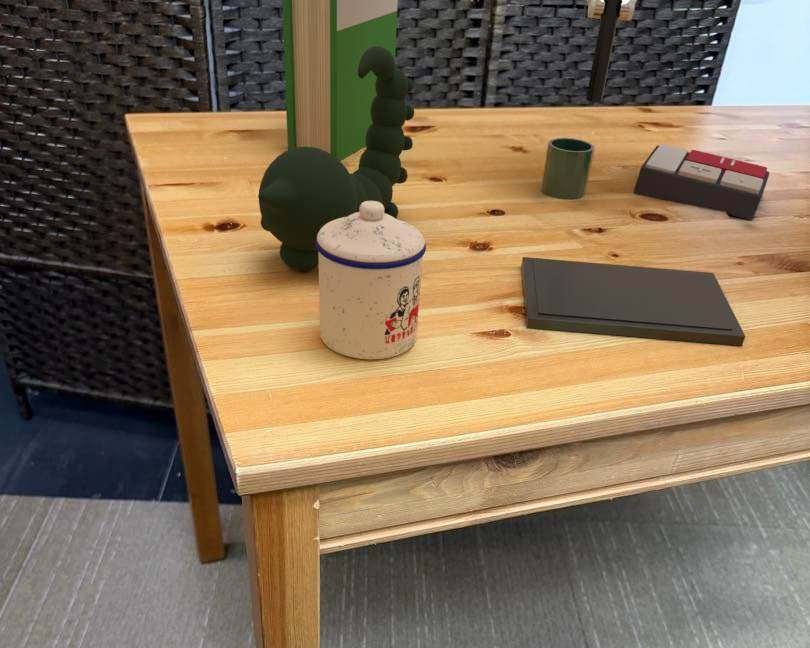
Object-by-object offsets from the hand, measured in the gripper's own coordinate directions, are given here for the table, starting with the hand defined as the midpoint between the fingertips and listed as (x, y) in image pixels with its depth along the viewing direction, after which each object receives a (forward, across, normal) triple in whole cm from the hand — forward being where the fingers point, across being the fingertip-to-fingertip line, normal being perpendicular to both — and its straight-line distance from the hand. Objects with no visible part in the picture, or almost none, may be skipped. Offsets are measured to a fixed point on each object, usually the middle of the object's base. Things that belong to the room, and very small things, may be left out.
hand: (610, 15), depth 87 cm
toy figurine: (+27, -27, +1) cm, 38 cm away
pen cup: (+11, -1, +17) cm, 21 cm away
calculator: (+9, +17, +20) cm, 28 cm away
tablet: (+33, +3, -4) cm, 33 cm away
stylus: (+6, 0, +6) cm, 8 cm away
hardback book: (+1, -31, +28) cm, 42 cm away
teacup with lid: (+40, -21, -11) cm, 46 cm away
